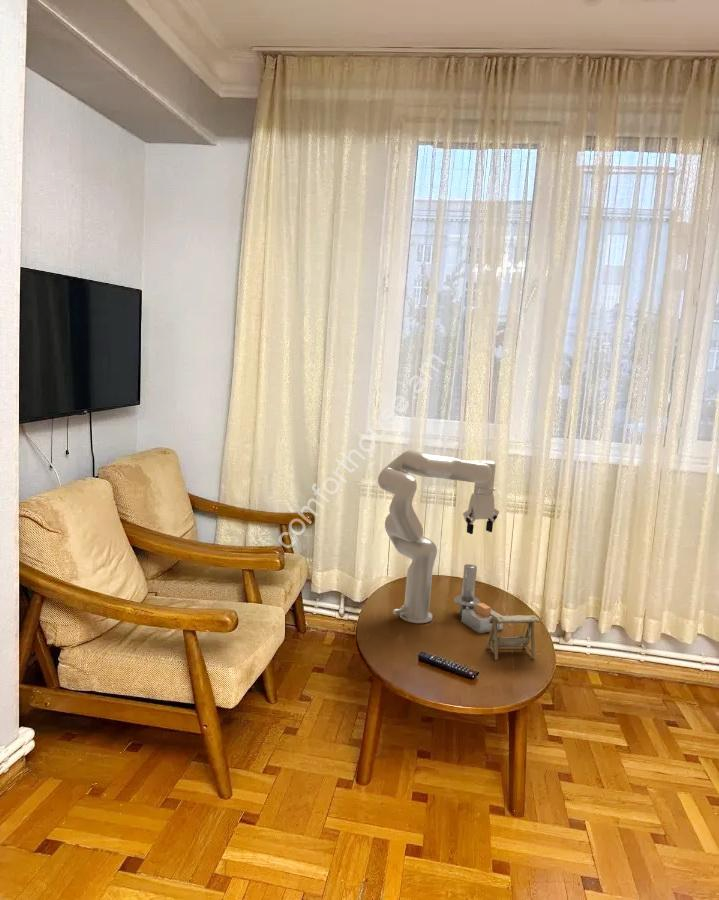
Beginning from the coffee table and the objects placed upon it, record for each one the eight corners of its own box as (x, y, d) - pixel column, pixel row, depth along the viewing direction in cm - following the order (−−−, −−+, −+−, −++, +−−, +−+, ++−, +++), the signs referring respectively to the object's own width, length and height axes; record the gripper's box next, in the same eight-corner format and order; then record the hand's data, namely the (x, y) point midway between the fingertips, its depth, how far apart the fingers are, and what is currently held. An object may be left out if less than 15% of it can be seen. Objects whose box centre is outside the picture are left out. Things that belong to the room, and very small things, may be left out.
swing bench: (524, 647, 243) (529, 608, 240) (535, 660, 233) (540, 619, 231) (485, 648, 240) (489, 608, 238) (495, 660, 231) (499, 619, 228)
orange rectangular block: (482, 628, 256) (484, 608, 255) (474, 623, 260) (476, 603, 259) (488, 627, 257) (490, 607, 256) (480, 622, 262) (482, 602, 260)
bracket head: (479, 633, 252) (484, 581, 248) (446, 612, 269) (451, 563, 266) (502, 629, 257) (508, 578, 254) (469, 608, 275) (474, 561, 271)
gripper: (494, 487, 280) (490, 528, 283) (460, 489, 272) (456, 531, 274) (506, 492, 273) (502, 533, 276) (471, 494, 265) (467, 536, 268)
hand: (479, 532), depth 275 cm, fingers open, 9 cm apart
